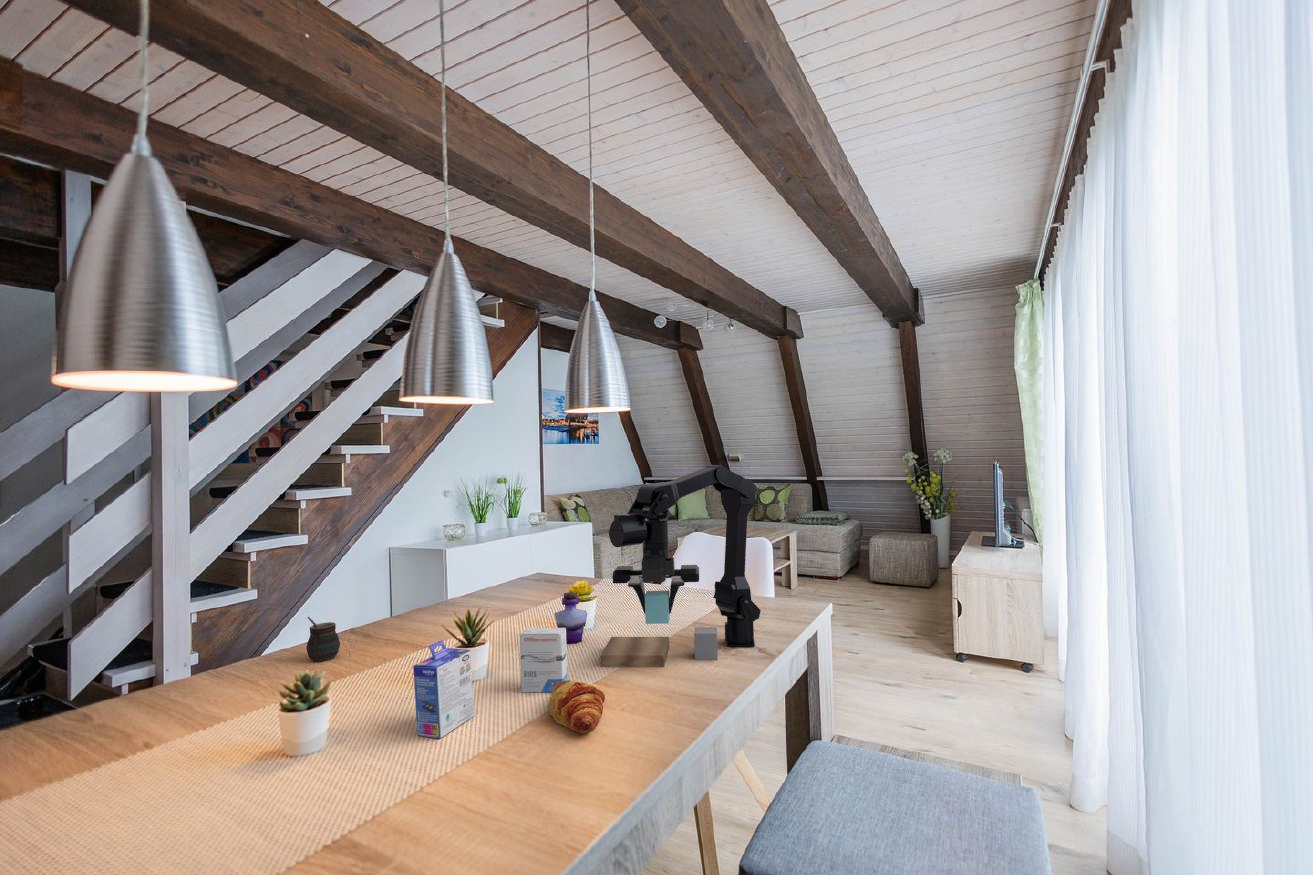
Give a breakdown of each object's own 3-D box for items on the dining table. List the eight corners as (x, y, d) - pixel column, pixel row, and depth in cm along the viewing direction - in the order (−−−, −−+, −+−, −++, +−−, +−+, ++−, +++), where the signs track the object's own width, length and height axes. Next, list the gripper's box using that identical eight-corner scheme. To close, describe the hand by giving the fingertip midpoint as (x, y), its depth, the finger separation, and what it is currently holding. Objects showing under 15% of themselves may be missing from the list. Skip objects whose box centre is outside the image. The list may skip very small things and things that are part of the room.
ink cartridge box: (449, 713, 122) (447, 634, 122) (475, 716, 120) (473, 636, 120) (413, 735, 112) (411, 650, 113) (440, 739, 111) (438, 653, 111)
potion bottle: (592, 636, 168) (591, 589, 169) (583, 646, 160) (581, 597, 160) (560, 635, 170) (559, 588, 170) (549, 645, 161) (547, 596, 162)
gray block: (717, 653, 152) (716, 627, 152) (717, 660, 147) (716, 633, 147) (695, 653, 152) (695, 627, 152) (695, 660, 147) (694, 633, 147)
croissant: (551, 716, 128) (530, 682, 127) (595, 684, 131) (575, 651, 130) (574, 762, 108) (550, 722, 107) (625, 723, 111) (602, 684, 110)
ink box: (568, 684, 135) (566, 626, 135) (562, 693, 130) (561, 633, 130) (527, 683, 136) (526, 626, 136) (520, 692, 131) (518, 633, 131)
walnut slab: (669, 649, 157) (669, 636, 157) (664, 669, 143) (663, 655, 143) (611, 649, 159) (611, 636, 159) (600, 669, 145) (600, 655, 145)
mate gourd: (331, 663, 153) (329, 620, 153) (299, 664, 153) (297, 621, 153) (346, 653, 160) (344, 612, 160) (315, 654, 160) (313, 613, 160)
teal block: (670, 617, 147) (669, 590, 147) (668, 623, 142) (667, 595, 142) (647, 617, 147) (646, 590, 147) (645, 623, 142) (644, 595, 142)
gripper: (607, 548, 137) (610, 623, 137) (697, 547, 136) (699, 622, 136) (615, 540, 148) (617, 610, 148) (698, 539, 147) (700, 609, 147)
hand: (657, 613), depth 144 cm, fingers closed on teal block, 5 cm apart
